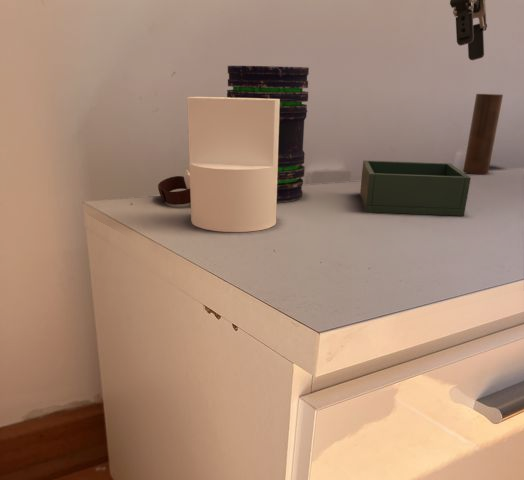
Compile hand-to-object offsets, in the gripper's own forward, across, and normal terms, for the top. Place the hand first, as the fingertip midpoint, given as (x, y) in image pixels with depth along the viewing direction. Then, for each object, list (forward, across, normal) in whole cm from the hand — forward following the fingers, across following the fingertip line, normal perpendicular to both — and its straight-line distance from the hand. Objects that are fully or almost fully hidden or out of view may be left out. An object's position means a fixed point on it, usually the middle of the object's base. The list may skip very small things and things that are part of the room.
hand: (471, 51), depth 85 cm
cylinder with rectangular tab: (+23, -43, +17) cm, 52 cm away
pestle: (+17, +9, +2) cm, 19 cm away
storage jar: (+19, -29, +21) cm, 41 cm away
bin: (+22, -23, +4) cm, 33 cm away
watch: (+20, -39, +28) cm, 51 cm away
